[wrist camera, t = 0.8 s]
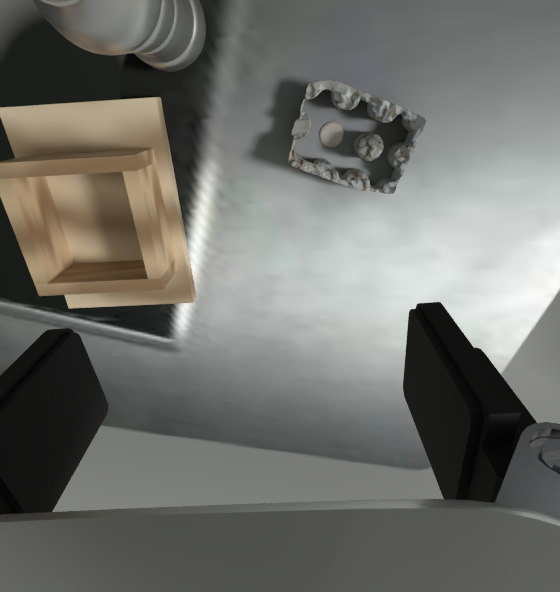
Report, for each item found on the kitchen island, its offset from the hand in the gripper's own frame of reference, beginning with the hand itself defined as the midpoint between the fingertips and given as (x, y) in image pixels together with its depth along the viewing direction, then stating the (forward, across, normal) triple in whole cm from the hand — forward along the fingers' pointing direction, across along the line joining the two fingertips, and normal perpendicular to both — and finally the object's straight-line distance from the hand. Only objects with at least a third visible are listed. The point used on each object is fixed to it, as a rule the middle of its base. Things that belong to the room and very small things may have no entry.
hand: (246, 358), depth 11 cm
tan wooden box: (+29, +17, +2) cm, 34 cm away
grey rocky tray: (+30, -7, -2) cm, 31 cm away
